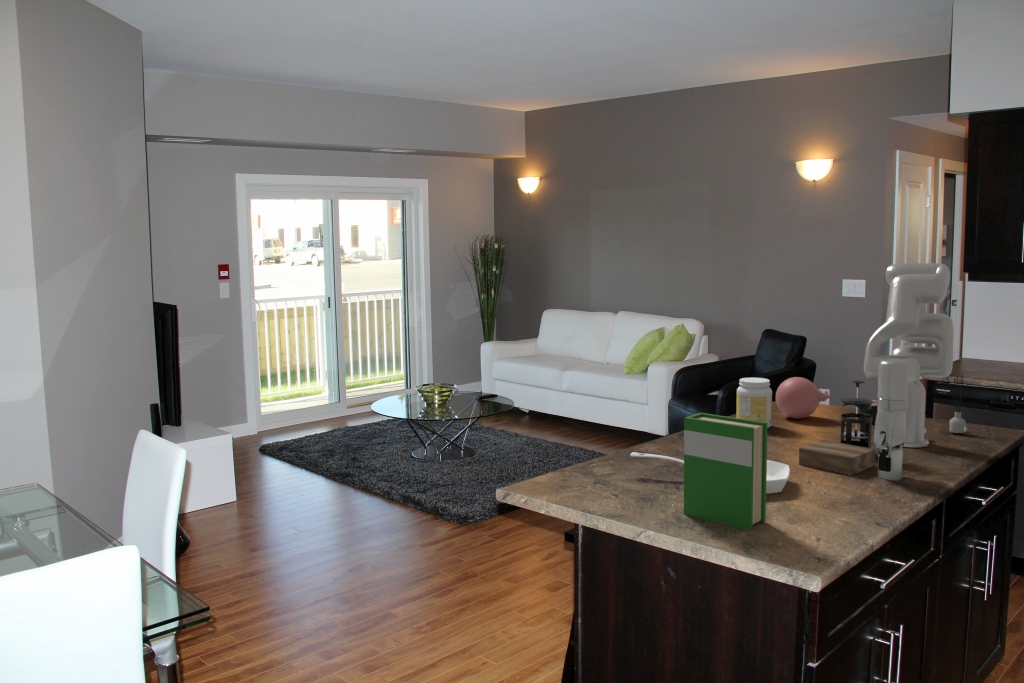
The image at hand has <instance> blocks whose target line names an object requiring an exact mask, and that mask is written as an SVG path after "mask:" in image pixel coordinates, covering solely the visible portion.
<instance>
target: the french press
mask: <svg viewBox="0 0 1024 683" xmlns="http://www.w3.org/2000/svg"><path fill="white" fill-rule="evenodd" d="M849 382H850V383H851V384H852V383H853V384H855V388H856V397H846V398H845V397H844V398H841V400H840V401H841V402H842V407H843V408H844V407H845V406H855V412H849V413H841V414H840V441H839V443H844V444H849V445H855V446H860V447H866V448H871V449H872V426H873V425H872V416H870V415H869V414H859V412H858V410H859V409H861V410H869V409H871V403H873V401H872V400H873V399H868V398H862V397H861V398H860V397H859V396H858V395H859V388H860V384H866V381H864V380H859V379H858V380H857V379H855V380H854V379H852V380H850V381H849ZM859 418H861V419H859ZM853 424H855V429H854V430H853ZM858 424H860V425H859V426H860V427H859V428H860V429H859V431H858V430H857V429H858V428H857V427H858ZM852 439H853V440H852ZM854 439H855V440H854Z"/></svg>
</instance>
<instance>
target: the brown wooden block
mask: <svg viewBox="0 0 1024 683" xmlns="http://www.w3.org/2000/svg"><path fill="white" fill-rule="evenodd" d="M799 464H801V465H800V466H803V465H806V466H805V467H808V466H811V467H810V468H813V467H815V468H814V469H818V468H820V469H819V470H823V469H825V470H824V471H827V470H830V471H829V472H832V471H836V472H835V473H837V472H841V473H840V474H842V473H845V474H844V475H846V474H850V475H849V476H853V475H852V474H854V475H856V474H859V473H861V472H863V471H862V470H864V471H865V469H866V470H868V469H871V468H873V467H875V464H876V449H875V448H872V447H871V448H866V447H860V446H855V445H849V444H844V443H840V442H837V441H832V440H825V439H822V440H819V441H816V442H813V443H809V444H807V445H803V446H801V447H799V448H798V465H799ZM872 466H873V467H872ZM870 467H871V468H870ZM867 468H868V469H867ZM860 471H861V472H860ZM858 472H859V473H858ZM855 473H856V474H855Z"/></svg>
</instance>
